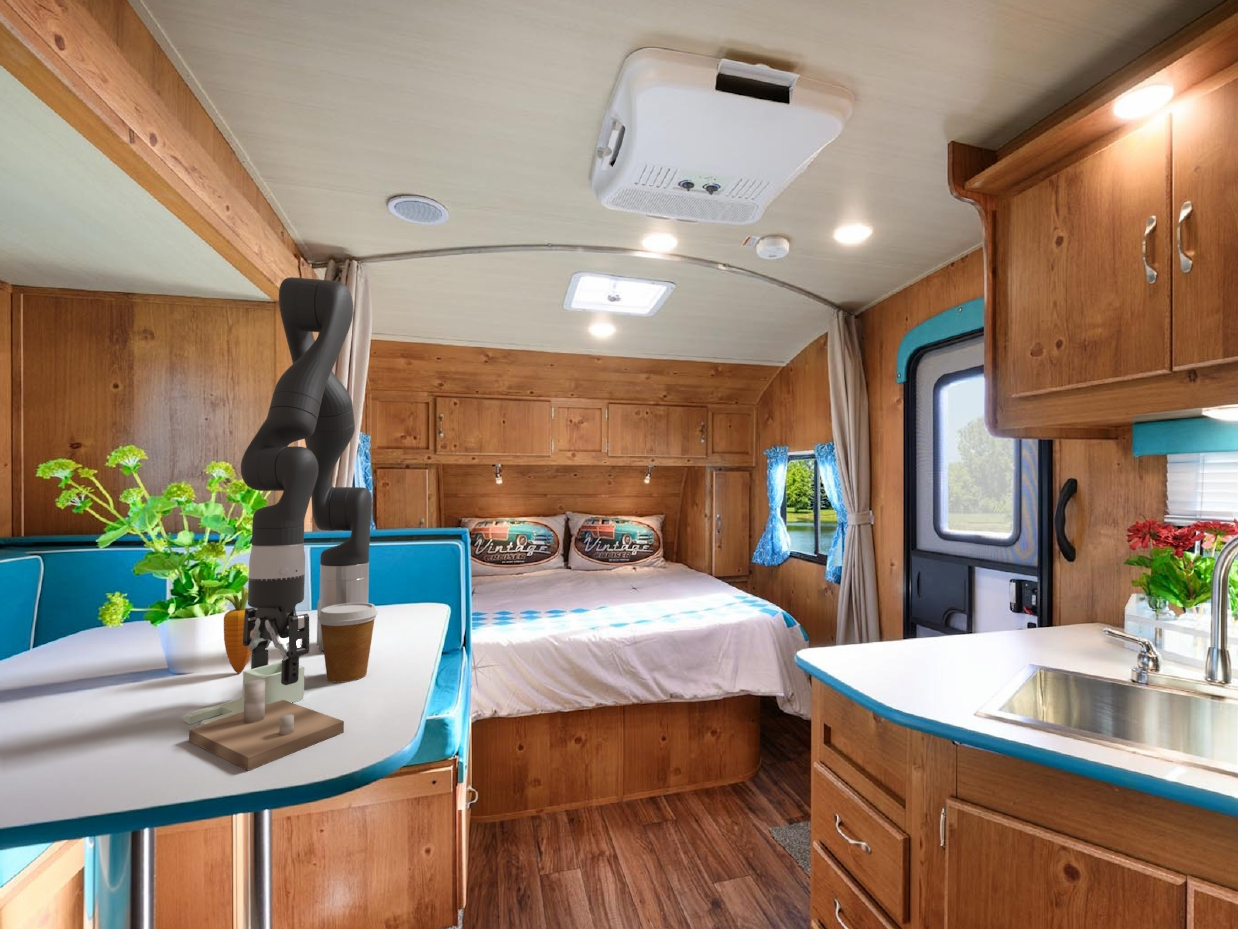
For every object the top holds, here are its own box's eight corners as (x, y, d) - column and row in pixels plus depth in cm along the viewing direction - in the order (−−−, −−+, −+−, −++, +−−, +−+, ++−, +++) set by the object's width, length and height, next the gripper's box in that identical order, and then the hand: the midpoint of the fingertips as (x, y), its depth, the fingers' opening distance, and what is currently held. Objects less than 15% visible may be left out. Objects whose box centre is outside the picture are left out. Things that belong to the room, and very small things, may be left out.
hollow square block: (282, 692, 91) (283, 660, 91) (303, 699, 88) (304, 667, 88) (184, 722, 79) (185, 686, 80) (205, 731, 76) (206, 694, 77)
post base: (188, 741, 73) (190, 690, 74) (282, 709, 84) (283, 665, 84) (248, 770, 66) (249, 714, 66) (343, 732, 76) (344, 683, 76)
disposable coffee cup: (304, 680, 97) (305, 610, 97) (353, 664, 105) (354, 600, 105) (340, 689, 92) (341, 616, 93) (388, 672, 101) (389, 605, 101)
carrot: (235, 679, 97) (237, 592, 97) (215, 676, 98) (217, 590, 99) (262, 670, 102) (264, 587, 102) (242, 667, 103) (244, 585, 104)
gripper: (327, 573, 87) (324, 679, 86) (276, 568, 94) (273, 666, 93) (277, 579, 81) (274, 694, 80) (227, 573, 88) (223, 678, 87)
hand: (274, 679), depth 87 cm, fingers open, 8 cm apart
